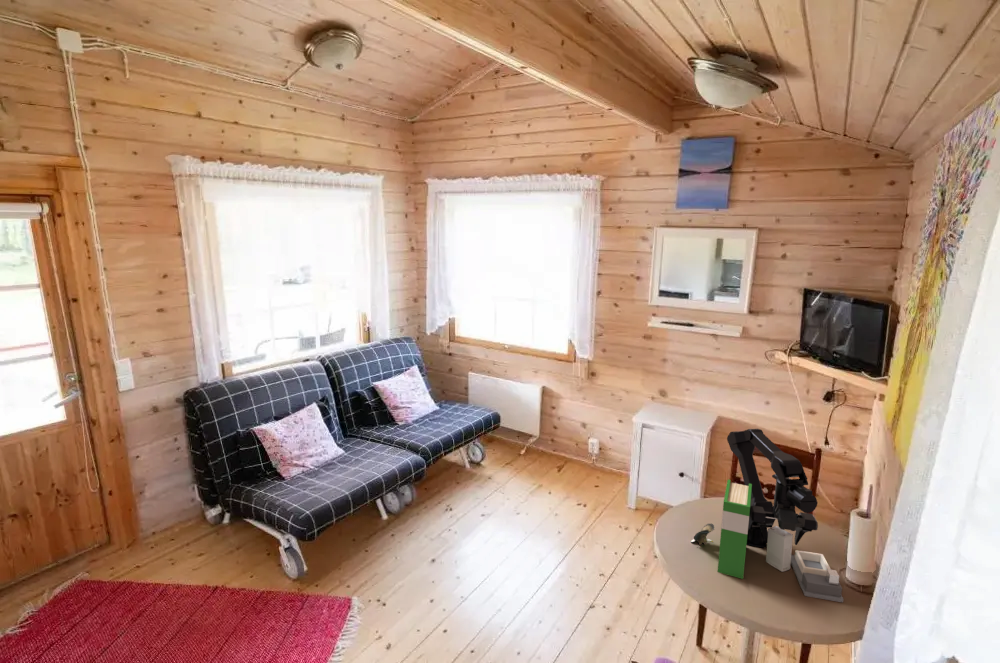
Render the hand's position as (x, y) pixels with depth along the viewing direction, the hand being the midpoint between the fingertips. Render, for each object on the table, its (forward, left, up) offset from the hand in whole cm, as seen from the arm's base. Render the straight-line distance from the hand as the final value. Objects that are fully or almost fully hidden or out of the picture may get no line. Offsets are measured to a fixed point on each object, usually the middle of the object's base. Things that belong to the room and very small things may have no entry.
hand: (779, 541), depth 168 cm
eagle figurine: (-23, +3, -9) cm, 25 cm away
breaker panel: (+10, -4, -8) cm, 13 cm away
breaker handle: (+12, -11, -4) cm, 17 cm away
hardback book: (-14, -2, -9) cm, 16 cm away
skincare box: (0, 0, -9) cm, 9 cm away
